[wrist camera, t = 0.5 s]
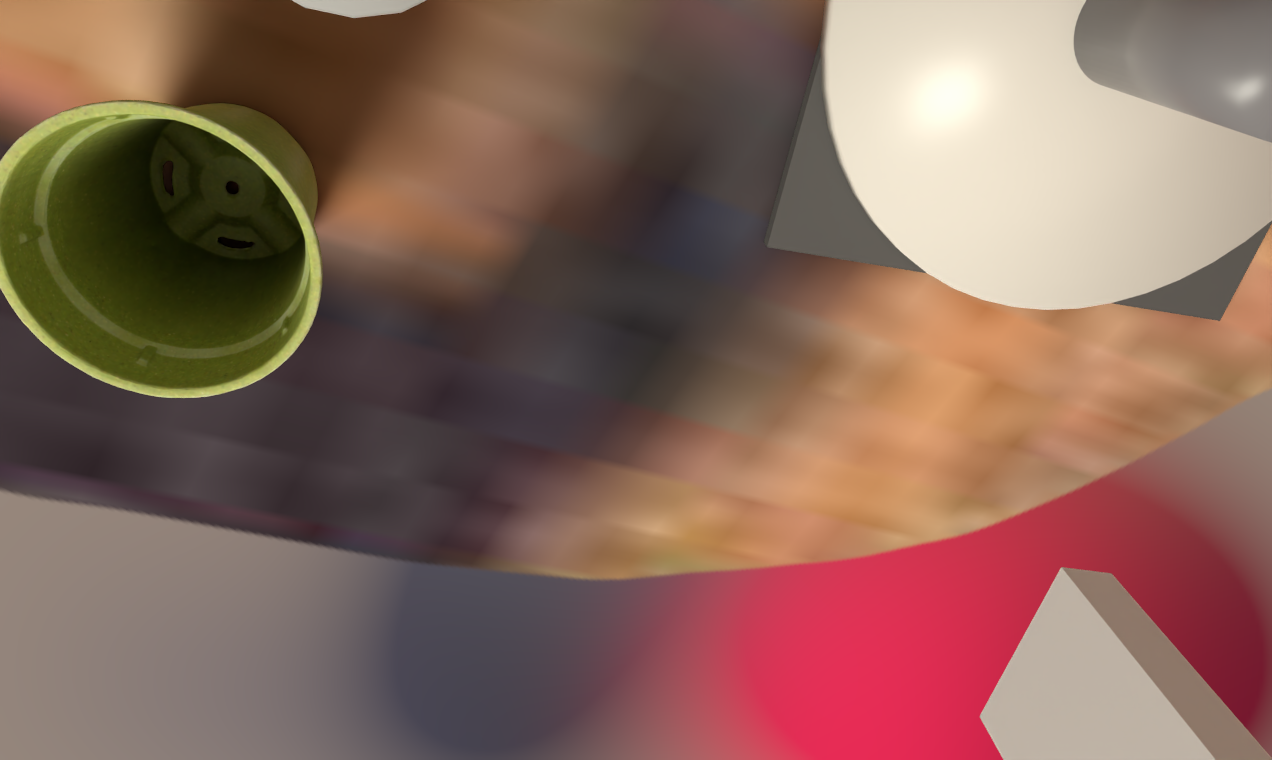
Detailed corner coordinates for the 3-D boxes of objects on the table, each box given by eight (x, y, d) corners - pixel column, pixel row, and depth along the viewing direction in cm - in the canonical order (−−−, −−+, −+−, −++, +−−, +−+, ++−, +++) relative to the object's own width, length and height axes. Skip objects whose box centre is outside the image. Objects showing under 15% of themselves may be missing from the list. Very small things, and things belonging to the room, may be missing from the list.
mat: (946, -416, 29) (954, -422, 28) (1502, -238, 33) (1517, -240, 33) (763, 242, 39) (767, 247, 38) (1211, 315, 43) (1219, 320, 42)
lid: (945, -447, 28) (1143, -604, 19) (1537, -253, 32) (1924, -307, 24) (752, 256, 38) (822, 368, 29) (1223, 331, 43) (1409, 449, 34)
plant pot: (86, 36, 32) (-48, 82, 25) (363, 69, 34) (317, 122, 26) (118, 284, 36) (12, 388, 29) (363, 303, 38) (323, 407, 30)
